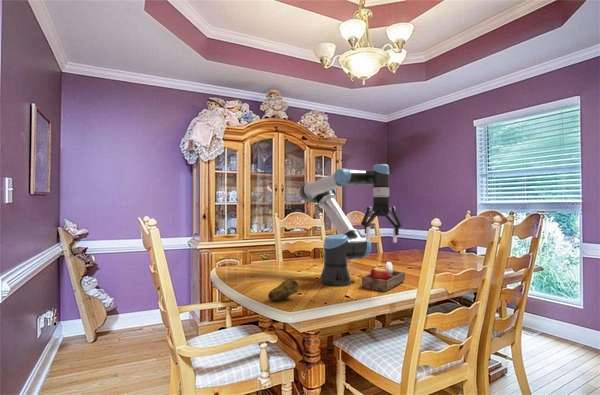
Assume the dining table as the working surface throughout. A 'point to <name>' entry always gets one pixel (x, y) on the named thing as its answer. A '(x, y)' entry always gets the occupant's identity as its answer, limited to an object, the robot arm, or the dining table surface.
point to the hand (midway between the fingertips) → (381, 241)
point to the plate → (389, 268)
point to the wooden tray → (383, 281)
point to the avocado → (284, 290)
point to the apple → (379, 273)
